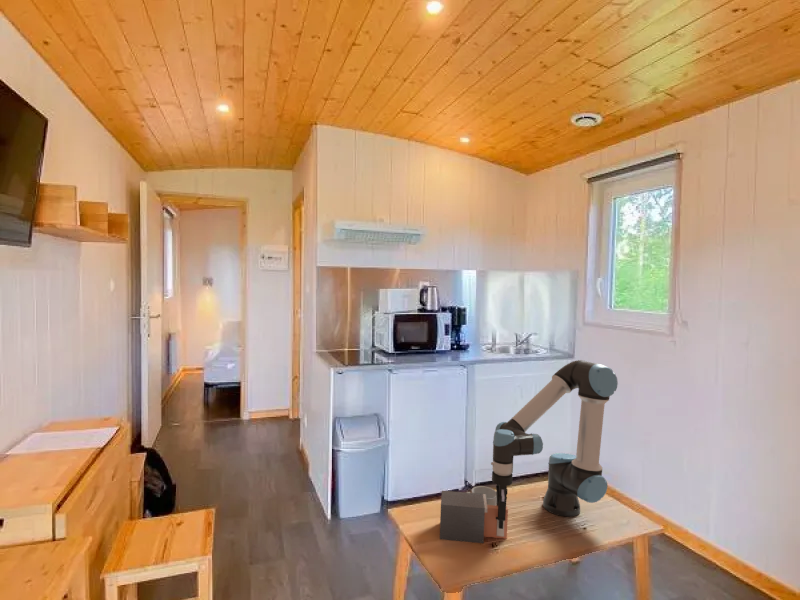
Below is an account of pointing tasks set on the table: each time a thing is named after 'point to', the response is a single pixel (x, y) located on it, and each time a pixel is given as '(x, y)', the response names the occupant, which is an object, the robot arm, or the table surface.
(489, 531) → the salmon orange rectangular slab
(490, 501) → the teacup
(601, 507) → the table surface
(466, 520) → the block
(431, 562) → the table surface
